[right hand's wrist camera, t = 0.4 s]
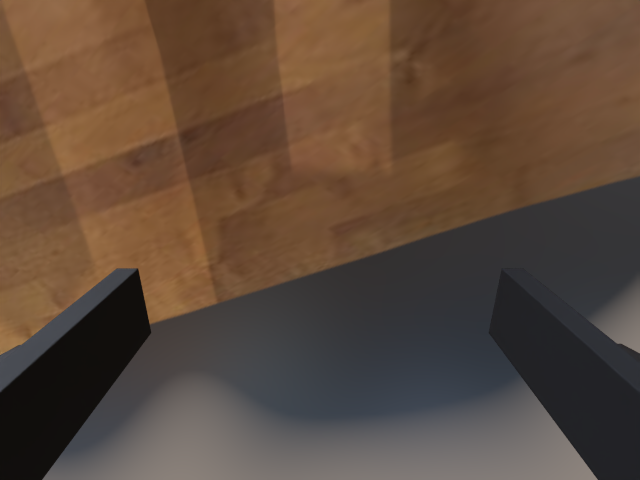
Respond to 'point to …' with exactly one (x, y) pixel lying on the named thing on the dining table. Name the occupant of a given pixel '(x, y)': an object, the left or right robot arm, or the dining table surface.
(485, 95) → the dining table surface
